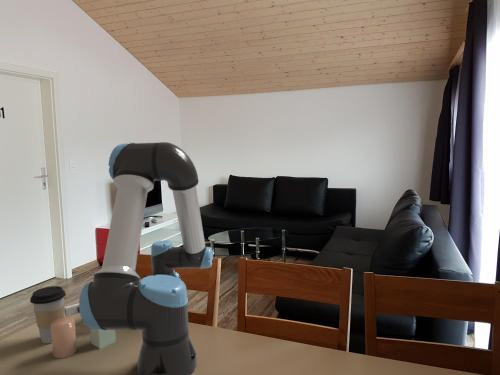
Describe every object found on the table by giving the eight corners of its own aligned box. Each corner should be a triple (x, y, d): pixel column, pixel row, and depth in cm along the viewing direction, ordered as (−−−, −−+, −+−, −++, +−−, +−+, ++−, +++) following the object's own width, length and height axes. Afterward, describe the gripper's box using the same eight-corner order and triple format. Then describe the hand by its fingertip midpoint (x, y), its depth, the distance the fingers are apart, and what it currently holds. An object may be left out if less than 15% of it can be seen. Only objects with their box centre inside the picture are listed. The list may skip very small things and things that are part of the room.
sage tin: (116, 341, 111) (115, 316, 110) (99, 349, 107) (97, 323, 106) (107, 335, 114) (105, 311, 113) (90, 343, 110) (88, 318, 109)
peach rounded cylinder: (79, 352, 105) (77, 322, 104) (56, 361, 101) (53, 329, 100) (73, 344, 110) (70, 315, 109) (50, 352, 106) (48, 321, 105)
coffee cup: (76, 332, 117) (72, 286, 115) (53, 348, 108) (48, 298, 106) (51, 329, 119) (46, 284, 117) (26, 344, 110) (21, 295, 108)
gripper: (147, 307, 126) (72, 331, 111) (131, 296, 136) (60, 316, 121) (145, 285, 125) (70, 307, 110) (129, 276, 135) (58, 294, 120)
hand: (65, 312), depth 115 cm, fingers closed
